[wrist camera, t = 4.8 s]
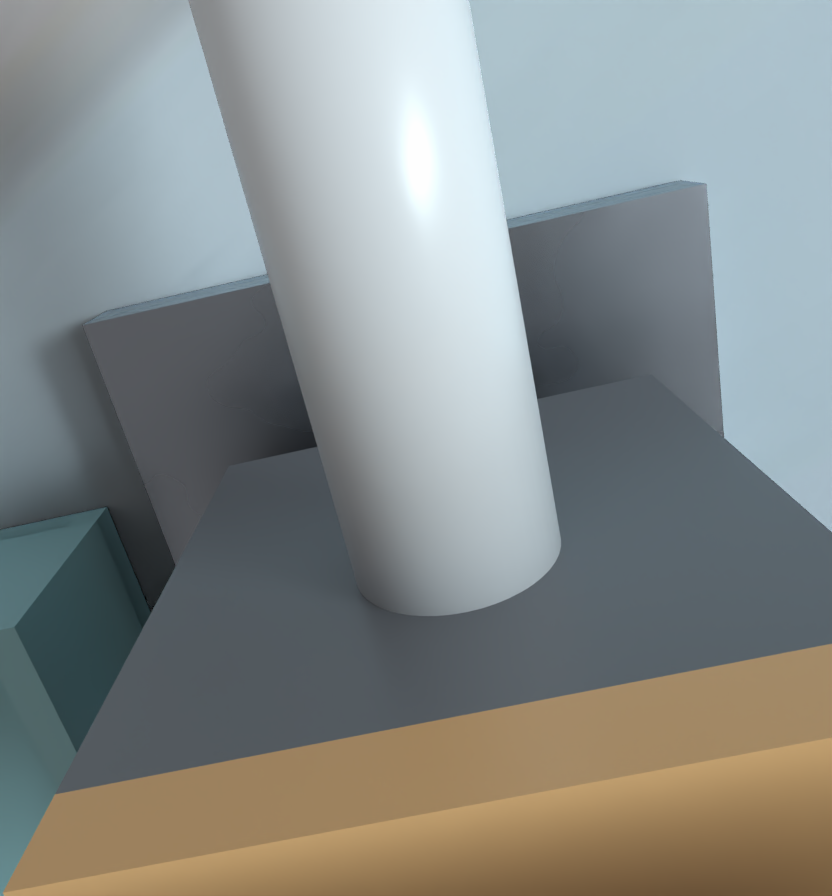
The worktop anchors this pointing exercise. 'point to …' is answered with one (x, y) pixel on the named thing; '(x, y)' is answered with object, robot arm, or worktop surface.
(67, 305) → the worktop surface
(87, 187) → the worktop surface
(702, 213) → the grey piece
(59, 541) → the bin
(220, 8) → the grey block with cylinder
